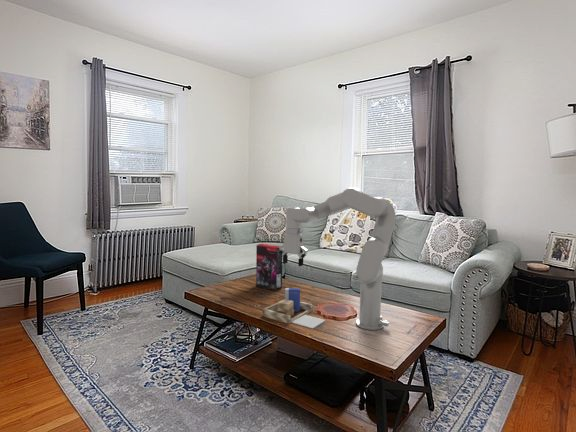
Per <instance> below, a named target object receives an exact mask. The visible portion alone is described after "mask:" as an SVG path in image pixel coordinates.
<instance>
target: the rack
mask: <svg viewBox="0 0 576 432" xmlns="http://www.w3.org/2000/svg"><path fill="white" fill-rule="evenodd" d="M277 310H278V302H276V303H274V304H272V305H268V306H267V307H265V308H262V317H263V318H264V317H265V318H267V319H271V320H275V321H279V322H282V323H284V324H285V323H286V324H292V323H291V322H292V321H294V320H296V319H298V318H299V317H301V316H303V315H308V314H309V313H312V312H313V303H307V302H304V301H300V310H303V312H301V313H299V314H297V315H294V317H293V318H291V316H290V315H286V314H282V313H279V312H277Z"/></svg>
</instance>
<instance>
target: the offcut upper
mask: <svg viewBox="0 0 576 432" xmlns="http://www.w3.org/2000/svg"><path fill="white" fill-rule="evenodd" d="M277 303H278V311H282V312H287V313H288V312H290V311H291V310H292V309H293V303H294V301H291V300H285V298H284V299H282V300H280V301H278V302H277Z"/></svg>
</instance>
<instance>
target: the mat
mask: <svg viewBox="0 0 576 432" xmlns="http://www.w3.org/2000/svg"><path fill="white" fill-rule="evenodd" d="M324 322H325V323H326V319H323V318H319V317H315V316H313V315H312V316H311V315H308V314H306V315H303V316H301V317H299V318H298V319H296V320H294V321H292V322H291V323H290V324H295V325H297V326H301V327H305V328H308V329H312V330H313V329H315V328H317V327H318V326H319V325H321V324H323V323H324Z"/></svg>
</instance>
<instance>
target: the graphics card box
mask: <svg viewBox="0 0 576 432" xmlns="http://www.w3.org/2000/svg"><path fill="white" fill-rule="evenodd" d="M280 246H281V245H275V244H268V243H259V244H257V245H256V254H255V255H256V259H255V261H256V264H255V265H256V266H255V267H256V271H255V272H256V274H255V275H256V276H255V280H256V281H255V286H256V287H259V288H264V289H267V290H273V291H279V290H281V289H283V256H282V254H281V252H280V249H279V247H280Z"/></svg>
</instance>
